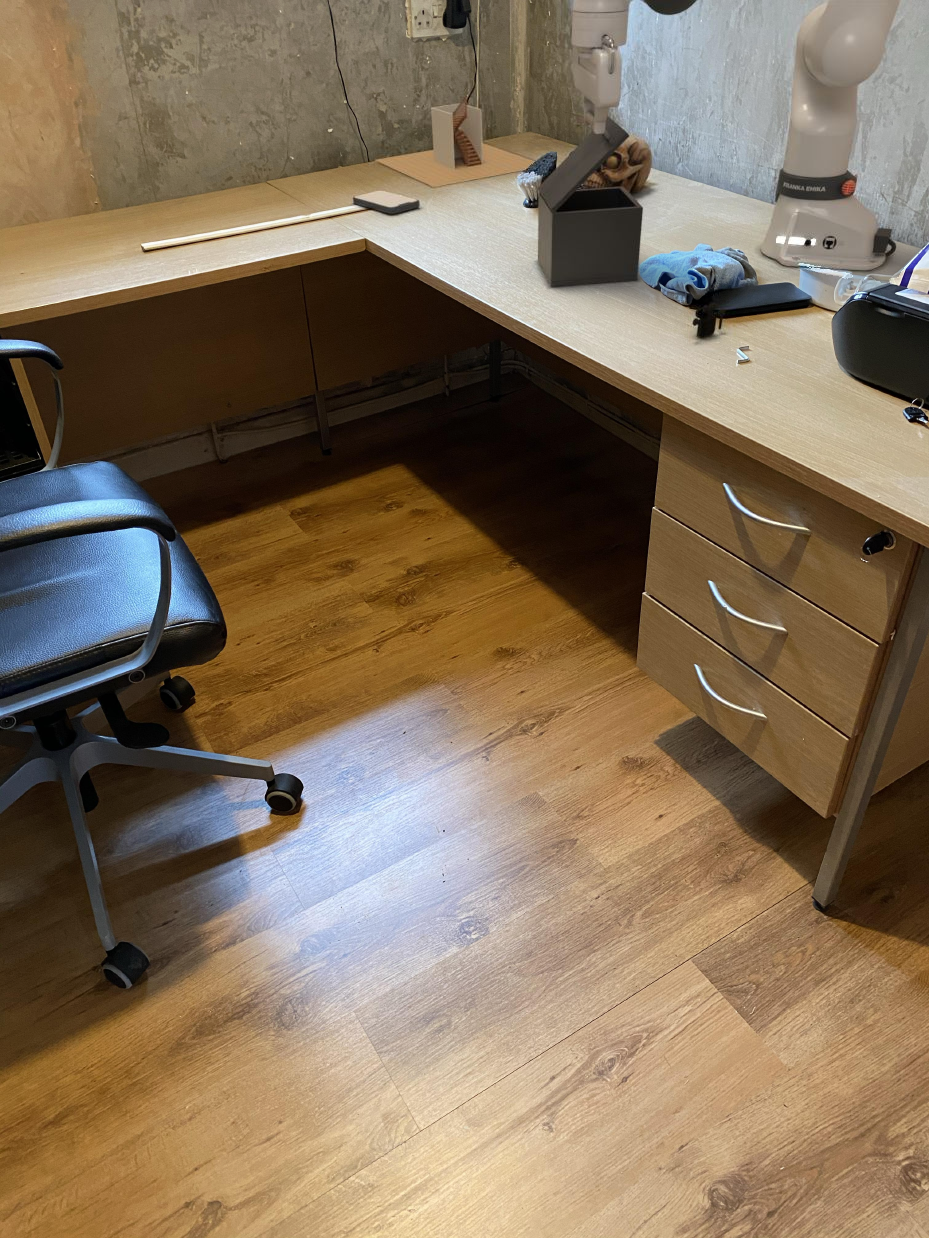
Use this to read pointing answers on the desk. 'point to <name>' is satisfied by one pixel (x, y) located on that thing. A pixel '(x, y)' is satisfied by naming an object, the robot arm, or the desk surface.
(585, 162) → the bin lid
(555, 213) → the waste bin
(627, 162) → the brown skull
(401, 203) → the phone case
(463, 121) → the staircase
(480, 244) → the desk surface
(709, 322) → the black knobbed bracket
